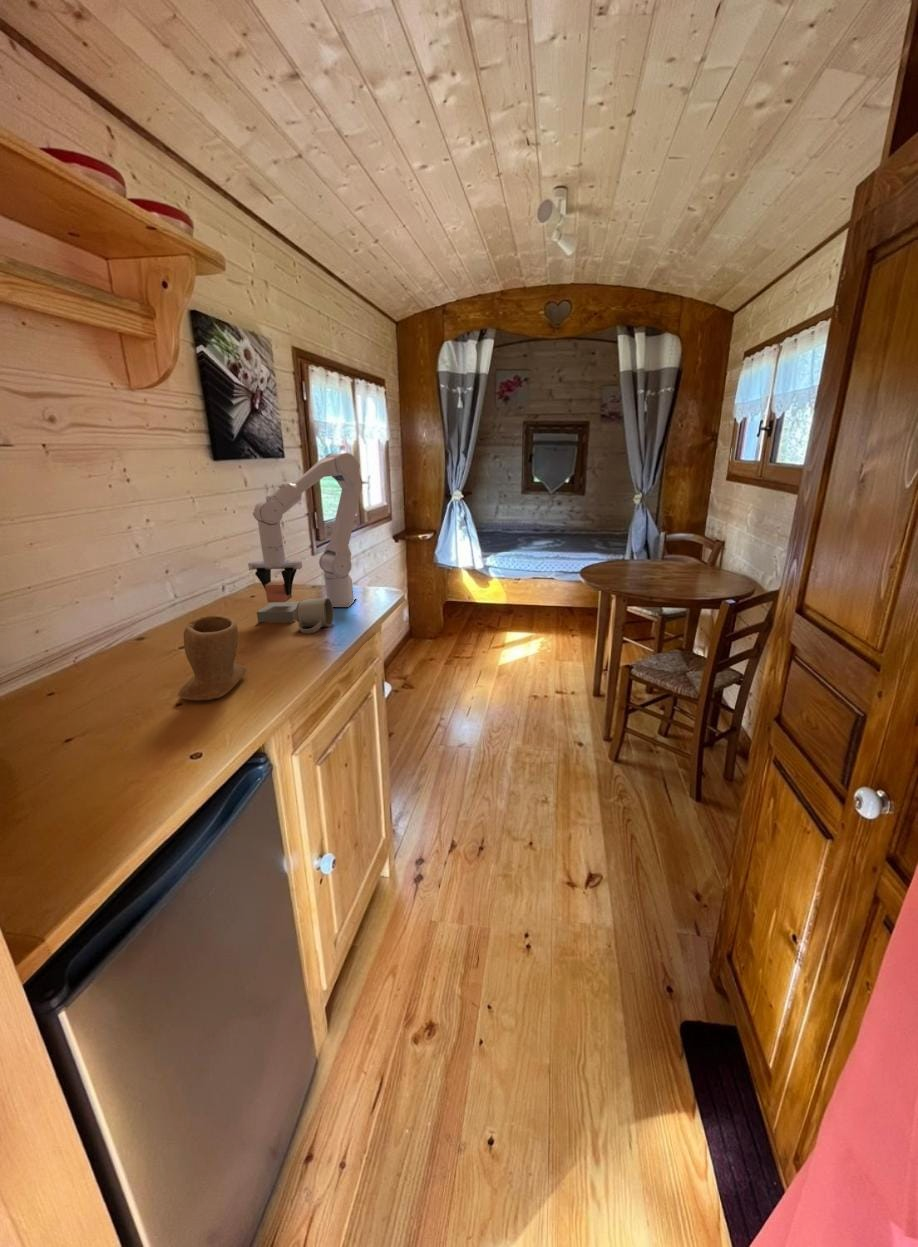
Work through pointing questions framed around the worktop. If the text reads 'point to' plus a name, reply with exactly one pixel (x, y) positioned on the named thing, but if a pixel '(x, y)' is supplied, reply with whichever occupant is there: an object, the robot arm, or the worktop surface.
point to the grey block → (278, 612)
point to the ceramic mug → (314, 614)
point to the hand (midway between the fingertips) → (279, 594)
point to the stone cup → (211, 657)
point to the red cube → (276, 592)
